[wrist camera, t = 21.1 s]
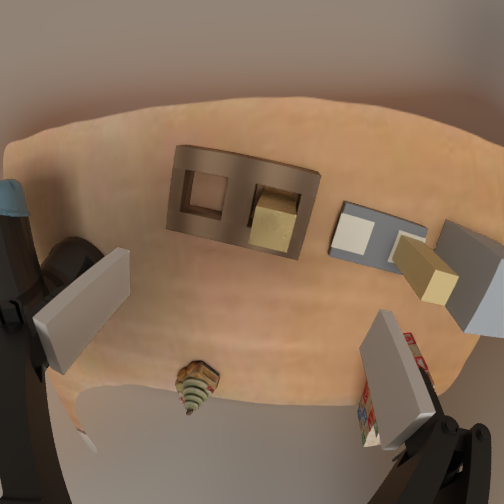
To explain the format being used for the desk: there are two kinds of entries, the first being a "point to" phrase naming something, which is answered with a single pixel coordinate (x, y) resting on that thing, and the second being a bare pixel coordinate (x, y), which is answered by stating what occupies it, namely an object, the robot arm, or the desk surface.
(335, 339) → the desk surface
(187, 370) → the ornament
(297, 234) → the socket board
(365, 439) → the stack of blocks
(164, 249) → the desk surface
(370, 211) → the board
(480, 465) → the robot arm
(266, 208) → the brass pin
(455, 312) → the block
